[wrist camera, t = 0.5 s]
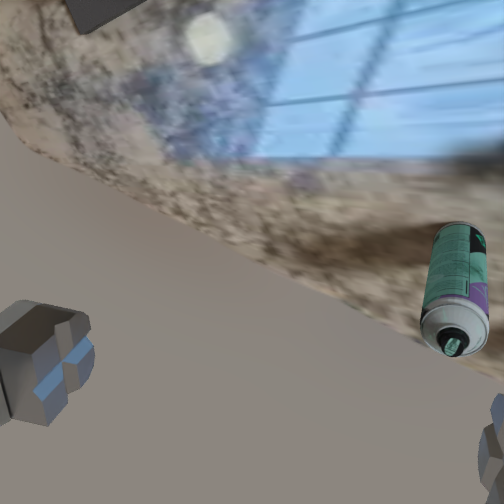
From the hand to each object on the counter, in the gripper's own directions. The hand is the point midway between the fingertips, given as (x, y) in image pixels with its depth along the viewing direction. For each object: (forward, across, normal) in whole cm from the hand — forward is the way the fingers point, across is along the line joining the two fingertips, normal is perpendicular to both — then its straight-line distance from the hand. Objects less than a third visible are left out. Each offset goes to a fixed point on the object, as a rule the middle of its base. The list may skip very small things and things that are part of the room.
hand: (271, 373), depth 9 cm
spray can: (+46, -12, +16) cm, 51 cm away
